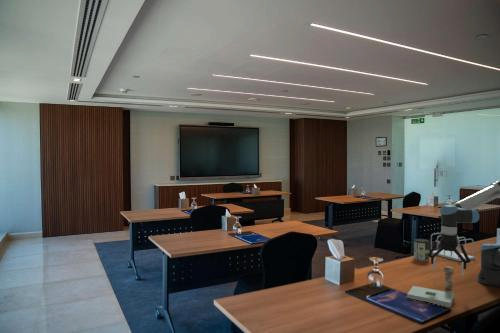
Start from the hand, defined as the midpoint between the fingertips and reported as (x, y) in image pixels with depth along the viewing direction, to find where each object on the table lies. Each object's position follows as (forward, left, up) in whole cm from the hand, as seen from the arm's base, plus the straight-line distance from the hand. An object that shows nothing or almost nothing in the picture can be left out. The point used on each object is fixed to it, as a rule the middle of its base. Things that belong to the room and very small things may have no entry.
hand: (448, 272), depth 194 cm
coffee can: (+25, -65, -12) cm, 71 cm away
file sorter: (+7, -87, -12) cm, 88 cm away
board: (+7, +12, -12) cm, 18 cm away
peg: (0, 0, -12) cm, 12 cm away
